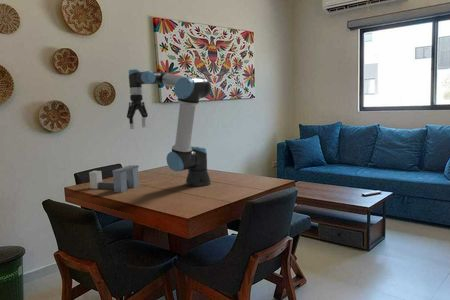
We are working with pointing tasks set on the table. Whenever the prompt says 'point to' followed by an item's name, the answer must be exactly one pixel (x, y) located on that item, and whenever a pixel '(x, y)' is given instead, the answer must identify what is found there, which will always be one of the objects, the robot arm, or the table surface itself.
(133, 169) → the housing
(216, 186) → the table surface
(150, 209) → the table surface
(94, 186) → the plug
